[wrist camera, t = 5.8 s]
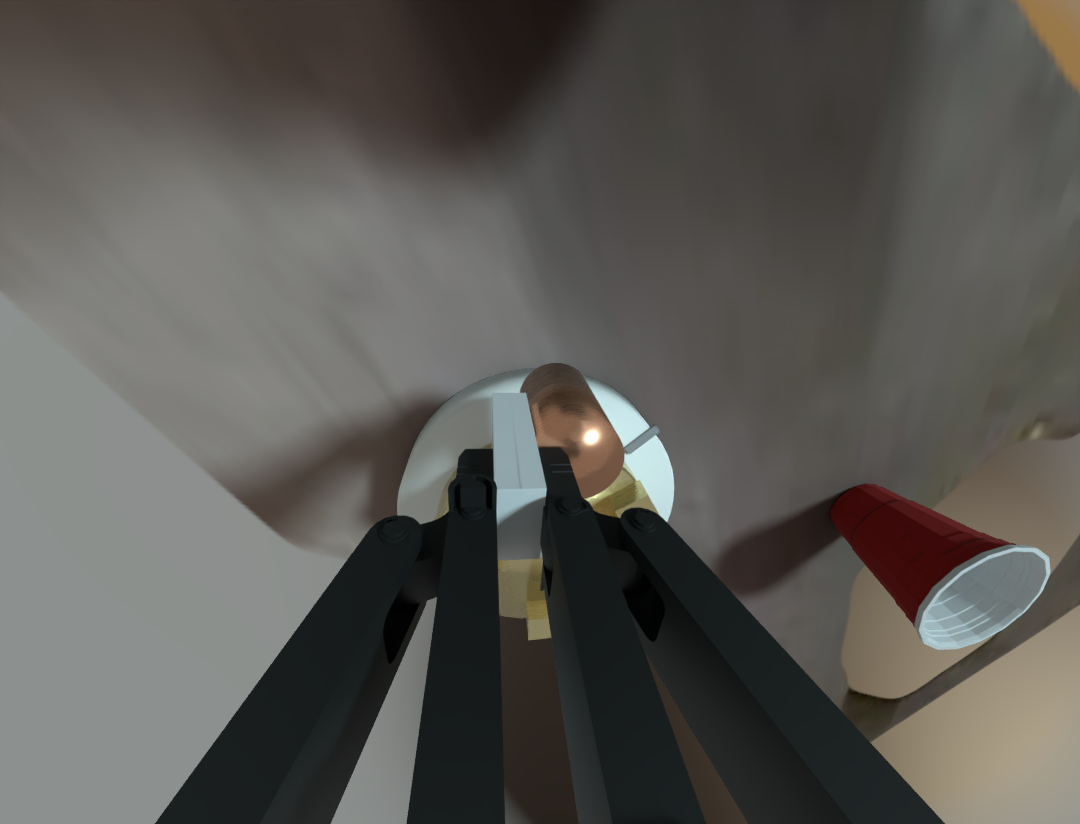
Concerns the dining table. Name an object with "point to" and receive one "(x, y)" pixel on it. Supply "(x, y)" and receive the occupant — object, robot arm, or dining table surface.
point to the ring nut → (598, 465)
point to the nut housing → (471, 428)
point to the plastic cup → (940, 566)
